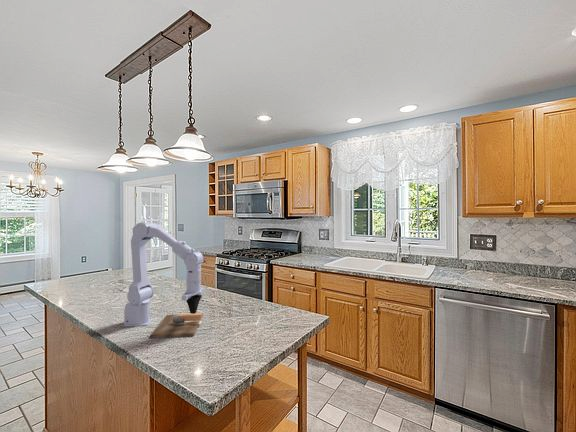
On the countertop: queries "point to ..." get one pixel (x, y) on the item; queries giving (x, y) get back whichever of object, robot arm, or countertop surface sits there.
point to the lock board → (175, 328)
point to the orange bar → (187, 317)
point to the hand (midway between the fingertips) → (193, 313)
